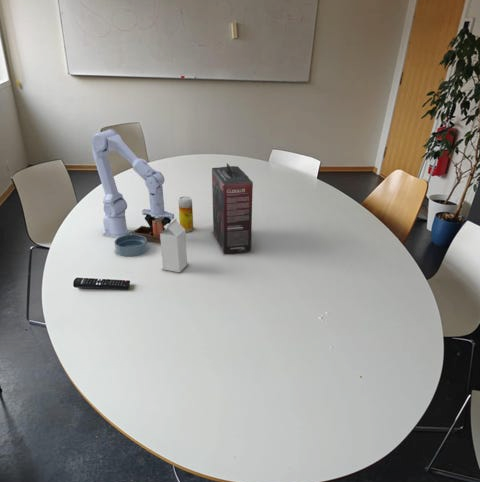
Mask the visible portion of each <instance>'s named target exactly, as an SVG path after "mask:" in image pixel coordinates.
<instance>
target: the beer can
mask: <svg viewBox="0 0 480 482" xmlns="http://www.w3.org/2000/svg"><path fill="white" fill-rule="evenodd" d="M193 211H194V210H193V199H192V197H190V196H179V198H178V216H179V217H178V218H179V224H180V225H181V226H182V227H183V228H184V229H185V233H189V232H192V231H193V229H194V213H193Z"/></svg>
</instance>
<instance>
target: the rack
mask: <svg viewBox="0 0 480 482" xmlns="http://www.w3.org/2000/svg"><path fill="white" fill-rule="evenodd" d="M131 235H141V236H144V237H145V238H146V239H147V243H152V244H158V245H161V240H160V237H158V236H153V232H151V229H150V226H146V225H141V226H139V227H138V228H136V229H135V230H133V231H131Z"/></svg>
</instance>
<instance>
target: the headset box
mask: <svg viewBox="0 0 480 482" xmlns="http://www.w3.org/2000/svg"><path fill="white" fill-rule="evenodd" d="M253 188H254V182H253V180H251V179H250V178H249V176H248V175H247V174H246V173H245V171H244V170H242V169H241V168H240V167H239V166H238V165H237V166H236V165H230V164H229V163H226V166H220V167H219V166H218V167H211V189H212V193H211V195H212V228H213V229H212V230H213V231H212V232H213V235H214V236H215V238H216V241H217V243H218V244H219V246H220V248H221V251H222V252H223V254H235V253H245V252H246V253H247V252H252V235H253V234H252V233H253V232H252V231H253V230H252V227H253V192H254V191H253V190H254V189H253Z"/></svg>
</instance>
